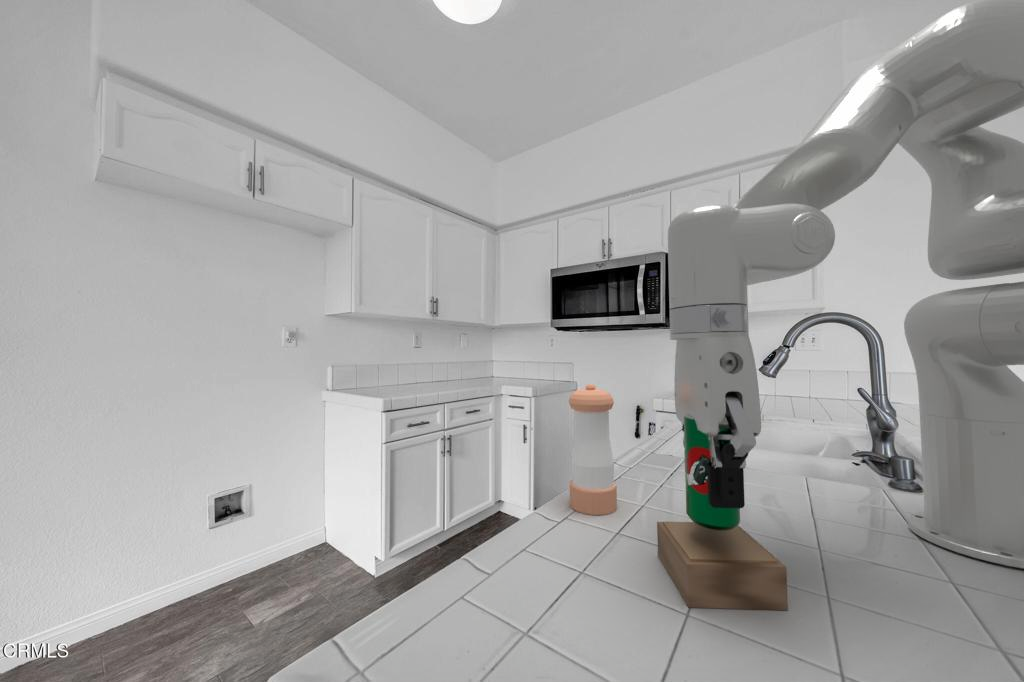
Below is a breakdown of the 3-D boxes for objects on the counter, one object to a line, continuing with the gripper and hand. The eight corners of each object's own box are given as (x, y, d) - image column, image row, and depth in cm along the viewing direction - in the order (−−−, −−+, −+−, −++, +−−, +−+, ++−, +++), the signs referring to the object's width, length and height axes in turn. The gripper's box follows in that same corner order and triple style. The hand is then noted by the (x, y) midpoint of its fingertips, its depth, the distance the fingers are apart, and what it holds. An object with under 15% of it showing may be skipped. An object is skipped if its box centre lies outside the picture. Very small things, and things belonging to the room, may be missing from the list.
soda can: (748, 535, 37) (744, 412, 37) (693, 530, 38) (690, 411, 38) (729, 513, 42) (726, 405, 42) (681, 510, 43) (678, 404, 43)
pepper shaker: (616, 498, 62) (614, 382, 62) (617, 517, 55) (613, 386, 55) (572, 495, 64) (570, 382, 64) (567, 512, 57) (564, 386, 57)
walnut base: (736, 557, 44) (735, 520, 44) (787, 610, 35) (786, 563, 35) (657, 555, 44) (656, 519, 44) (688, 607, 35) (687, 561, 35)
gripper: (798, 317, 32) (806, 535, 31) (707, 330, 49) (711, 470, 48) (707, 319, 32) (713, 533, 32) (648, 330, 49) (652, 470, 49)
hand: (712, 493), depth 40 cm, fingers closed on soda can, 5 cm apart
